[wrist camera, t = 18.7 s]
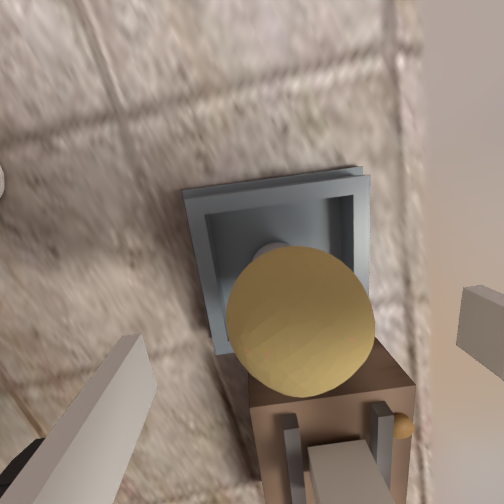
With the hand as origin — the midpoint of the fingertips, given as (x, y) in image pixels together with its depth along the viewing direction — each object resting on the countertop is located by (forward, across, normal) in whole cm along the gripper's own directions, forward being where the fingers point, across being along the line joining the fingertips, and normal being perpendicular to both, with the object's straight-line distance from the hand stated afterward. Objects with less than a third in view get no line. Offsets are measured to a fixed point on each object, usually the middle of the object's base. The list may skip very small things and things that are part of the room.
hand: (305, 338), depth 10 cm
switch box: (+9, +2, -16) cm, 18 cm away
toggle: (+4, +2, -13) cm, 14 cm away
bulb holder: (+9, 0, 0) cm, 9 cm away
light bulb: (+8, 0, 0) cm, 8 cm away
